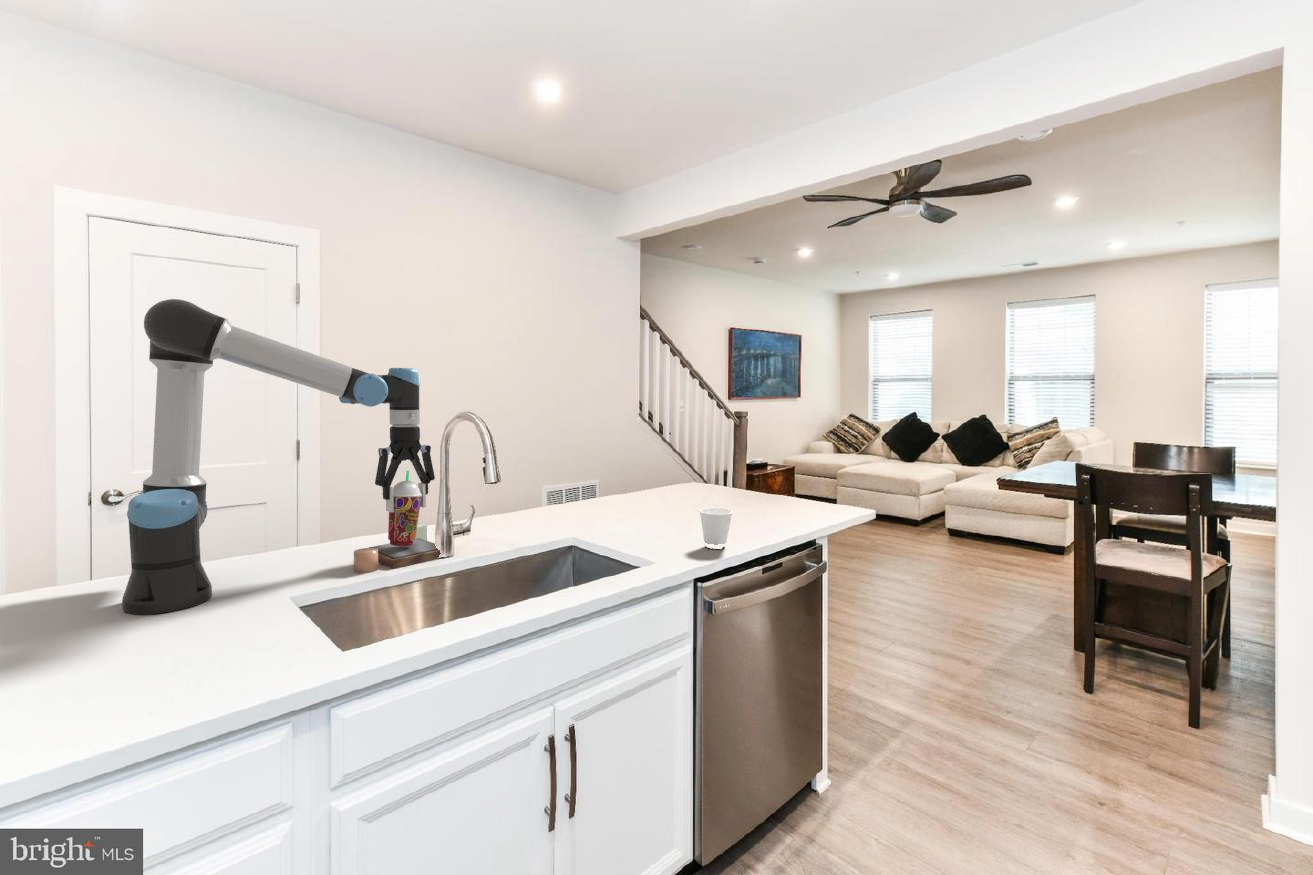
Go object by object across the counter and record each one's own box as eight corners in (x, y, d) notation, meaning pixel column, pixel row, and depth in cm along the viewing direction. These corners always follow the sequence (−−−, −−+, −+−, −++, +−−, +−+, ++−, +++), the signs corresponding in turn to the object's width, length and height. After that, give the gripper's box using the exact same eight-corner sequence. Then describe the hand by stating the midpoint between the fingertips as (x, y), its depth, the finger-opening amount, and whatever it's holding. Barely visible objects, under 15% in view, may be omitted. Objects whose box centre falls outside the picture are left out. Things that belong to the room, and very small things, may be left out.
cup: (692, 545, 189) (693, 508, 188) (720, 541, 193) (721, 506, 192) (708, 553, 180) (709, 515, 179) (738, 550, 184) (739, 512, 184)
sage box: (414, 545, 184) (413, 528, 184) (401, 543, 186) (401, 526, 186) (427, 541, 188) (426, 525, 188) (414, 539, 191) (414, 523, 190)
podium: (393, 568, 161) (393, 558, 161) (364, 556, 171) (364, 547, 171) (449, 556, 173) (449, 547, 173) (419, 545, 183) (419, 536, 183)
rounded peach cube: (360, 574, 156) (359, 555, 155) (350, 570, 159) (349, 550, 159) (382, 569, 160) (382, 550, 160) (372, 565, 164) (371, 546, 163)
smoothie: (410, 548, 166) (416, 472, 166) (378, 545, 166) (385, 470, 167) (422, 543, 175) (429, 471, 175) (393, 540, 175) (399, 468, 175)
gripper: (372, 428, 158) (374, 516, 160) (448, 424, 174) (449, 505, 176) (358, 426, 163) (360, 512, 165) (433, 423, 179) (434, 501, 181)
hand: (406, 508), depth 171 cm, fingers closed on smoothie, 8 cm apart
